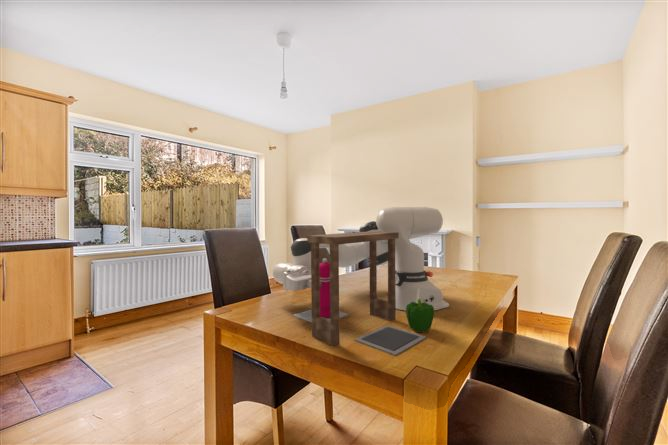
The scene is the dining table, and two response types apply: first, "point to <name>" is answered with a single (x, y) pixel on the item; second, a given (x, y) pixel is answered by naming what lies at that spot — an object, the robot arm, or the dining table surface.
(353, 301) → the dining table surface
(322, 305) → the pepper mill
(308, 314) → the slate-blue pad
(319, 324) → the walnut tunnel
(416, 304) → the bell pepper
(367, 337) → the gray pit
